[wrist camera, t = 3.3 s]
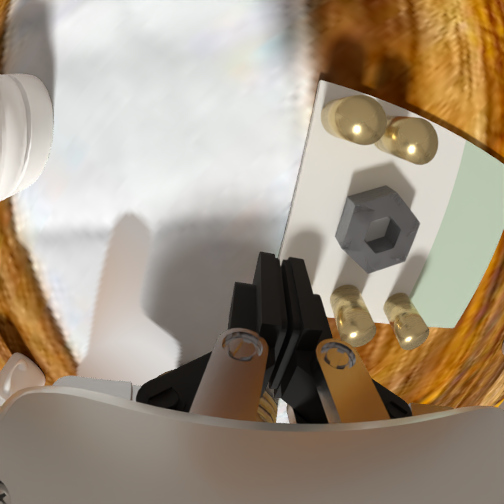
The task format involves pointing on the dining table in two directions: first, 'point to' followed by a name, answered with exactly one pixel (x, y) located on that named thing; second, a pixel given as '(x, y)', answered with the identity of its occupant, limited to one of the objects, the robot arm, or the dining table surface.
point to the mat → (416, 198)
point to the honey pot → (23, 131)
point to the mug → (19, 376)
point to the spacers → (402, 146)
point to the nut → (358, 221)
